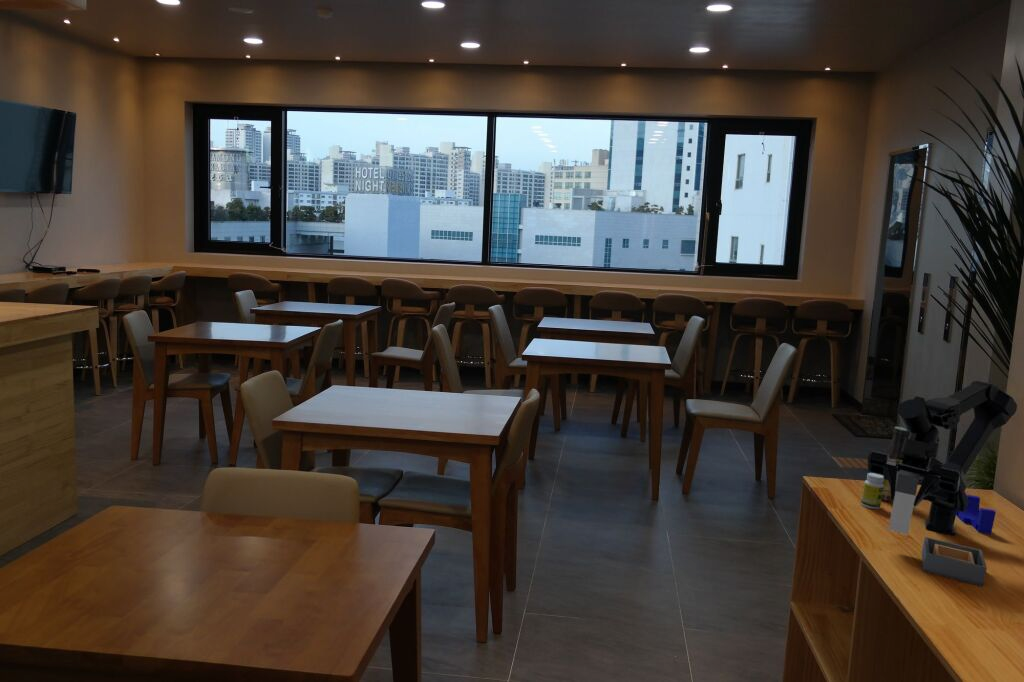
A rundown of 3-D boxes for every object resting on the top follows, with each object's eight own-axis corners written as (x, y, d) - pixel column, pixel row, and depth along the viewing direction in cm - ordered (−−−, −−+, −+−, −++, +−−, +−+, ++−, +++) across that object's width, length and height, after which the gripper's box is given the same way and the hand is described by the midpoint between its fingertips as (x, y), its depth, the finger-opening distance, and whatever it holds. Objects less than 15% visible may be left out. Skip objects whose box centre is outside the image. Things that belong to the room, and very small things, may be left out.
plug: (889, 524, 185) (899, 469, 183) (908, 529, 184) (919, 473, 182) (888, 529, 182) (898, 473, 180) (907, 534, 180) (918, 478, 178)
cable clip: (955, 515, 214) (959, 493, 213) (973, 518, 213) (978, 496, 212) (971, 531, 202) (976, 508, 201) (990, 535, 201) (995, 511, 200)
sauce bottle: (877, 501, 218) (891, 429, 215) (871, 493, 224) (884, 423, 221) (903, 505, 217) (917, 432, 214) (896, 497, 223) (909, 427, 220)
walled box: (921, 553, 183) (924, 536, 182) (978, 567, 178) (981, 550, 178) (922, 571, 173) (926, 553, 172) (982, 586, 168) (986, 567, 168)
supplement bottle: (878, 510, 210) (884, 479, 208) (859, 505, 212) (864, 474, 211) (881, 506, 214) (887, 475, 212) (862, 501, 216) (867, 470, 215)
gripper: (876, 416, 187) (857, 471, 180) (968, 435, 177) (951, 495, 170) (877, 443, 195) (859, 497, 188) (965, 463, 185) (949, 522, 177)
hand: (903, 502), depth 181 cm, fingers closed on plug, 4 cm apart
